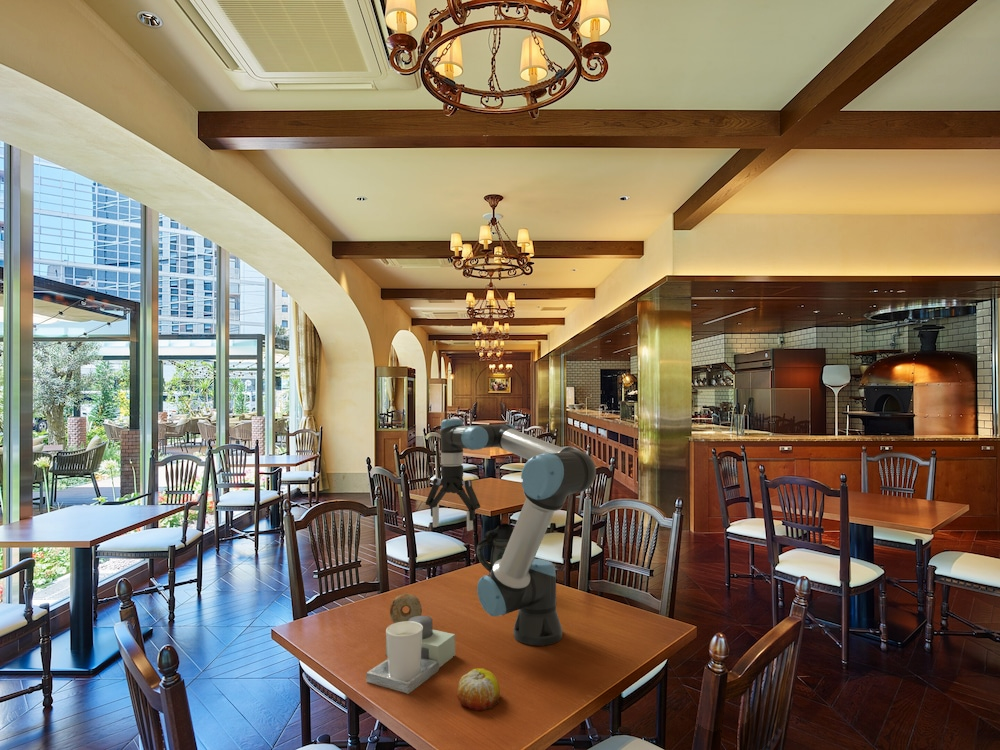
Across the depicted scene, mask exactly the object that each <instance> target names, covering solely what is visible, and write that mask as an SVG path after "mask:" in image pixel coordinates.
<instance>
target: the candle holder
mask: <svg viewBox="0 0 1000 750" xmlns="http://www.w3.org/2000/svg"><path fill="white" fill-rule="evenodd" d="M422 631H423V626H422V625H421V624H420V623H417V622H412V621H403V622H397V623H392V624H389V625H388V626H387V627H386V629H385V638H386V637H387V654H388V656H387V659H388V670H389V677H391V678H395V679H399V680H402V681H409V680H411V679H412V678H414V677H415V676H417V675H418V674H419V673H420V669H421V651H422Z"/></svg>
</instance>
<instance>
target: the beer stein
mask: <svg viewBox="0 0 1000 750" xmlns="http://www.w3.org/2000/svg"><path fill="white" fill-rule="evenodd" d="M513 530H514V528H513V527H512V526H511V524H510V523H509V524H508V523H502V524H497V527H496V528H494V529H491V530H488V531H486V532H485V535H484V538H482V539H480V540H479V541H478V542H477V546H476V557H477V560H478V561H479V562H480V564H481V565H482V567H484V569H486V571H488V575H489V574H490V573H491V570H492V568H493V565H494V563H495V562H496V561H498V560H500V559H502V557H503V554H504V552H505V549H506V547H507V545H508V542H509V540H510V537H511V535H512V532H513ZM486 546H489V547H490V546H491V552H490V553H491V554H490V561H488V560H487V558H485V555H484V553H483V552H484V551H483V550H484V548H485V547H486ZM489 562H490V563H489Z"/></svg>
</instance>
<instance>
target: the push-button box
mask: <svg viewBox="0 0 1000 750" xmlns="http://www.w3.org/2000/svg"><path fill="white" fill-rule="evenodd" d="M408 621H412V622H417V623H420V624H421V625H422V626H423V631H422V651H421V657H422V658H426V659H430V660H434V661H438V662H439V668H441V667H442V666H444V664H446V663H447V662H448V661H450V660H451V659H453V658H454V657H456V634H455V633H452V632H451V633H450V632H446V631H441V630H437V629H434V628H433V618H432V617H431V616H427V615H421V616H415V617H412V618H410V619H409V620H408ZM385 656H386V657H388V654H387V637H386V636H385ZM453 656H454V657H453Z"/></svg>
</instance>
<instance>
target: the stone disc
mask: <svg viewBox="0 0 1000 750" xmlns="http://www.w3.org/2000/svg"><path fill="white" fill-rule="evenodd" d="M404 607H407V608H408V611H407V612H404V610H403V608H404ZM422 609H423V607H422V604H421V601H420V600H419V598H418V597H417V595H414V594H411V593H402V594H400V595H397V596H395V597H394V598H393V599H392V601H391V603H390V608H389V616H390V620H391V622H393V623H392V624H394V623H397V622H403V621H408V620H409V619H410V618H412V617H415V616H422V613H423V610H422Z"/></svg>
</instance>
